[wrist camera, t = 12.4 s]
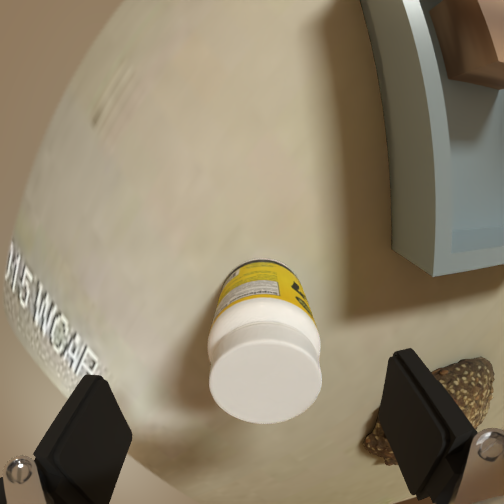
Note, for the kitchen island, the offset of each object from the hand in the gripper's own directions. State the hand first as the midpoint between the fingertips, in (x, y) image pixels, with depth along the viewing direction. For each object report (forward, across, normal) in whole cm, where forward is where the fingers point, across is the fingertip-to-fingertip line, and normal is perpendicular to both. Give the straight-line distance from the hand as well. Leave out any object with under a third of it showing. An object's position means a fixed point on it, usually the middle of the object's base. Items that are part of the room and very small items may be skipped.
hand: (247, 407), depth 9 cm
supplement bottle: (+10, -1, 0) cm, 10 cm away
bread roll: (+10, -15, +14) cm, 23 cm away
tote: (+9, -16, -11) cm, 21 cm away
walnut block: (+8, -16, -15) cm, 23 cm away
